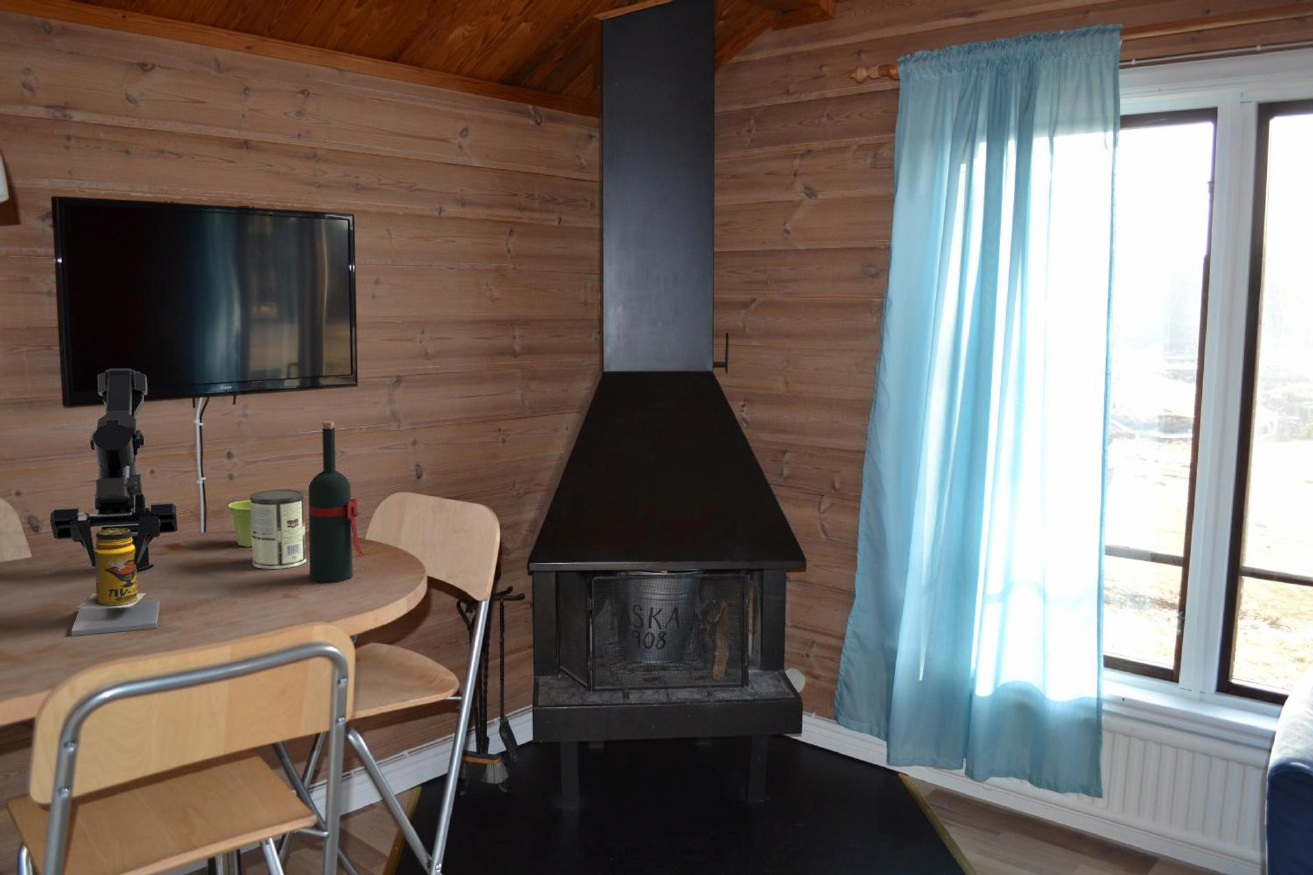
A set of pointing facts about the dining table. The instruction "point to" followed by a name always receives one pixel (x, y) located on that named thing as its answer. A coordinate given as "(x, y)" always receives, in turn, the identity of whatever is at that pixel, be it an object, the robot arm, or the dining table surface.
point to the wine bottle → (331, 518)
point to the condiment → (114, 570)
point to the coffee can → (278, 528)
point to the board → (116, 618)
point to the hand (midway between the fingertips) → (115, 563)
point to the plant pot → (242, 522)
